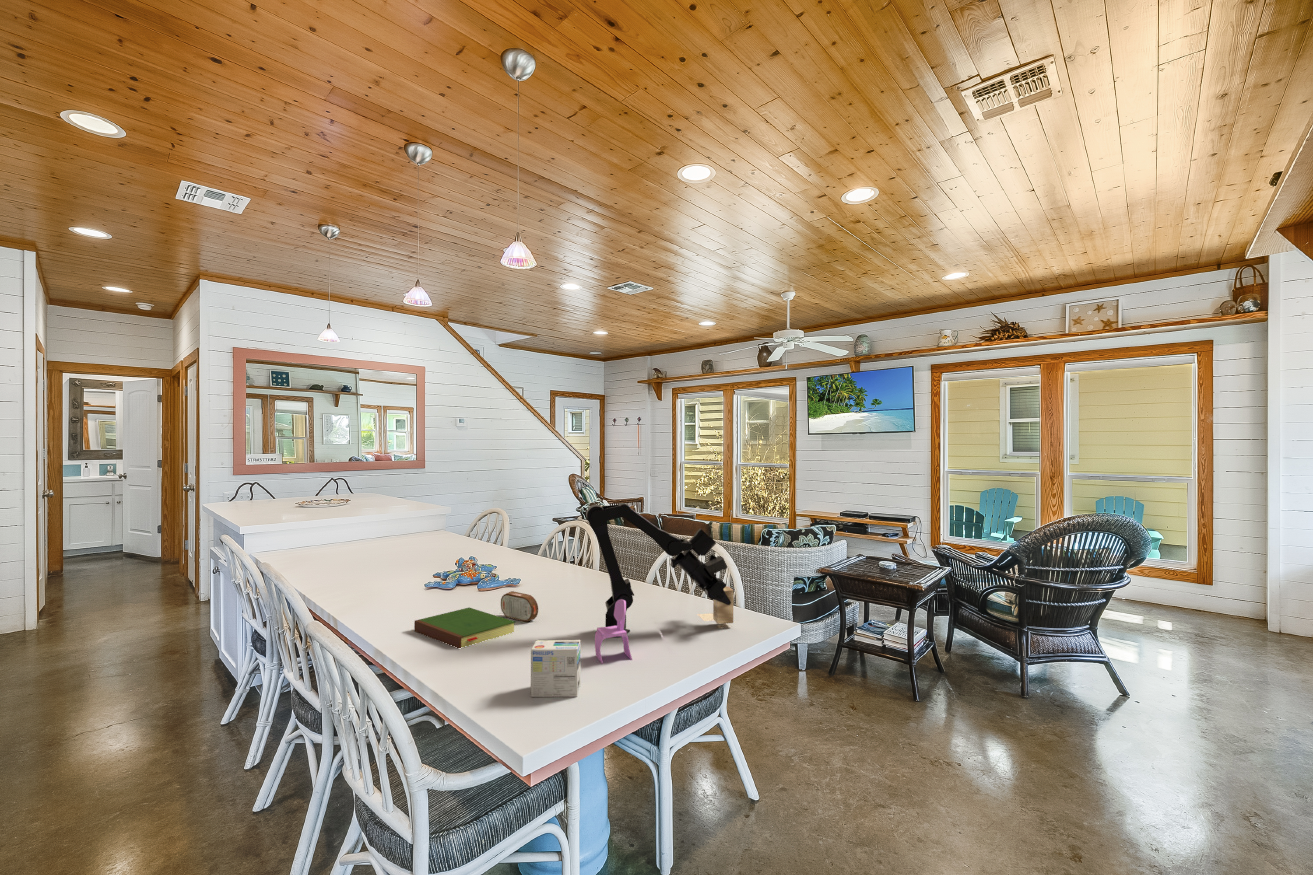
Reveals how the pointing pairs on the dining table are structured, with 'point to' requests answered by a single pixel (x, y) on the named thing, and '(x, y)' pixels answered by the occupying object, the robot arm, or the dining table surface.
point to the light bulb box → (555, 668)
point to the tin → (519, 606)
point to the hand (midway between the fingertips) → (727, 601)
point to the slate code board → (709, 618)
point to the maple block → (723, 609)
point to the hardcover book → (464, 627)
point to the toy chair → (614, 630)
